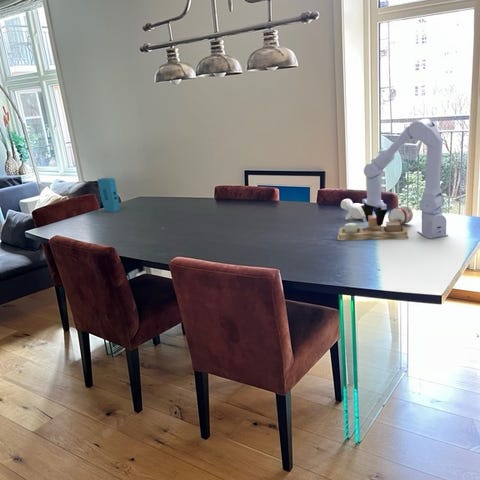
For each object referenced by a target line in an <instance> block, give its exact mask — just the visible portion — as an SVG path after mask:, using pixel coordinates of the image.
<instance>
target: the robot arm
mask: <svg viewBox="0 0 480 480" xmlns="http://www.w3.org/2000/svg"><path fill="white" fill-rule="evenodd" d="M412 139H415V140H418V141H421V143H423V144H424V145H425V146H426V160H425V162H426V163H425V182H424V183H425V185H424V190H423V191H422V196H421V197H422V198H421V199H420V201H419V204H418V205H419V209H420V210H421V229H420V230H417V233H419V234H420V235H422V236H424V237H425V238H427V239H434V238H441V237H447V236H449V234H448V233H447V219H446V217H445V215H443V210H442V206H443V205H444V203H445V198H444V194H443V189H442V187H441V176H442V175H441V174H442V173H441V172H442V158H443V155H442V154H443V138H442V136H441V134H440V132H439V130H438V128H437V123H435V122H434V121H433V120H431V119H430V118H422V119H420V120H415V121H413V122H411V123H410V124H409V126H407V127H406V128H404V130H403V131H402V132H401V133H400V134H399V136H398V137H397V138H396V139H395V140H394V141H393V142H392V144H391V145H390V146H389V147H388V148H383V149H380V150H379V151H378V152H377V153H378V154H377V155H376V156H375V157H374V158H371V160H370V163H367V164H366V165H365V166H364V168H363V173H364V176H365V177H366V178H365V179H366V198H362V200H361V204H364V205H362V206H361V208H362V209H363V211H364V213H365V216H366V219H365V221H366V222H367V223H368V215H376V220H377V225H378V226H379V225H381V226H383V224H384V220H385V217H386V214H387V213H388V211H389V208H387V207H388V206H387V204H386V203H384V200H382V183H381V182H382V181H381V180H382V178H381V177H382V174H383V173H384V170H385V169H386V168H387V167H388V166H389V164H391V163H392V161H393V160H394V159H395V154H396V153H397V152H398V151H399V150H400V149H401V148H403V146H405V144H406V143H408V141H411V140H412ZM373 212H374V214H373Z"/></svg>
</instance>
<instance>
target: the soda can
mask: <svg viewBox="0 0 480 480" xmlns="http://www.w3.org/2000/svg"><path fill="white" fill-rule="evenodd" d="M413 213H414V212H413V210H412V209H411V208H410V207H408V206H399V207H395V208H392V209H391V210H390V211H389V212H388V216H387V219H388V222H395V221H399V222H400V226H404V225H405V224H408V223H410V222H411V221H412V219H413V216H414V214H413Z"/></svg>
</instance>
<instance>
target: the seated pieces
mask: <svg viewBox="0 0 480 480" xmlns="http://www.w3.org/2000/svg"><path fill="white" fill-rule="evenodd" d="M385 223H386V225H385V226H386V229H387V232H400V226H401V225H400V222H399V221H395V222H390V221H385ZM357 227H358V224H357V223H356V222H355V223H354V222H349V223H345V224H344V228H345V233H357Z"/></svg>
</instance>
